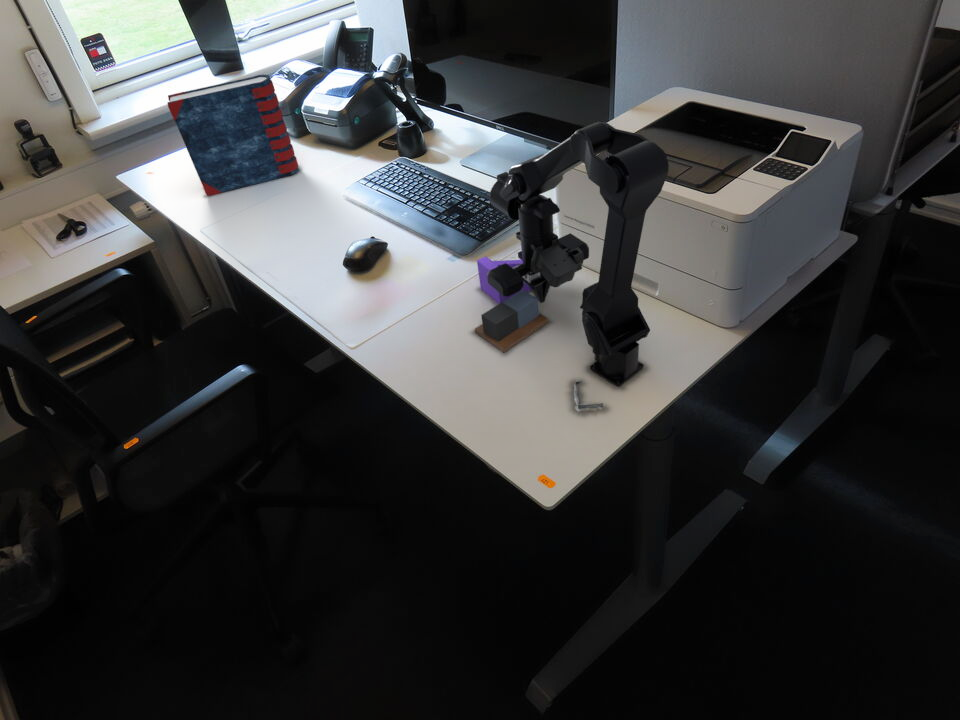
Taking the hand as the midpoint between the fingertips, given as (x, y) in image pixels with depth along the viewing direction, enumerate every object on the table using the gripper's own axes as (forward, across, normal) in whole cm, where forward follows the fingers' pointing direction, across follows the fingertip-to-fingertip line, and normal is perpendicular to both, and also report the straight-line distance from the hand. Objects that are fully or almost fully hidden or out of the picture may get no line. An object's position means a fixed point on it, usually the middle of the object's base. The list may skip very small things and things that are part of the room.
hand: (541, 301), depth 125 cm
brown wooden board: (+2, -8, -1) cm, 8 cm away
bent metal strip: (+2, -9, -24) cm, 25 cm away
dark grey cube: (0, -10, -2) cm, 10 cm away
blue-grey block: (0, -5, -1) cm, 5 cm away
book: (+2, -27, +95) cm, 99 cm away
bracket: (+2, 0, +9) cm, 9 cm away
